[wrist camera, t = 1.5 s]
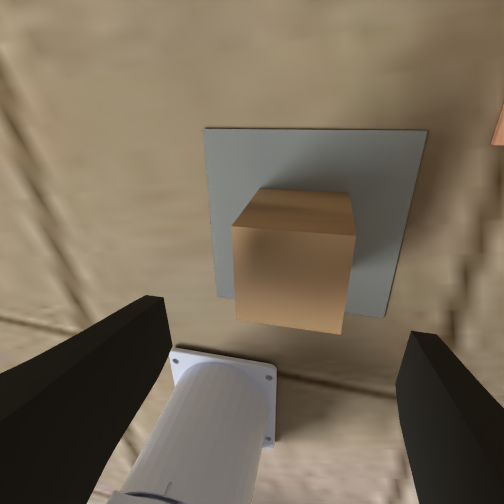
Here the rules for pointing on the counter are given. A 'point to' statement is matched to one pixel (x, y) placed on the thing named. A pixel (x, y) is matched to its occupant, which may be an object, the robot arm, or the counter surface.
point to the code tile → (324, 180)
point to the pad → (499, 131)
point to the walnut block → (294, 259)
